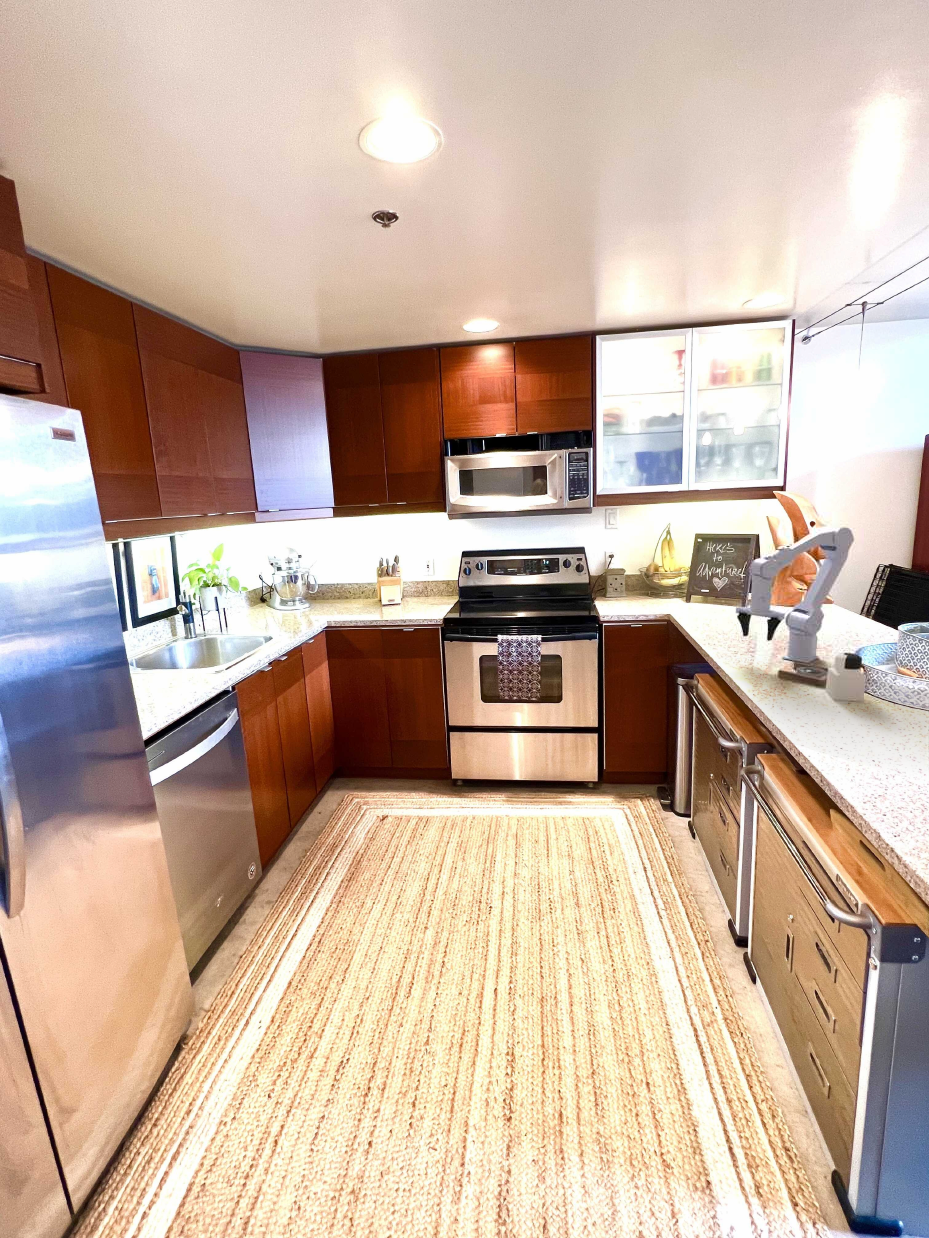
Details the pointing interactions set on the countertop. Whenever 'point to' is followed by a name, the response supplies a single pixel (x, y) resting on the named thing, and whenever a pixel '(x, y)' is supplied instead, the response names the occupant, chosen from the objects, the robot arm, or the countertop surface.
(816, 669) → the ring
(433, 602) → the countertop surface
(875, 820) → the countertop surface
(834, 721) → the countertop surface
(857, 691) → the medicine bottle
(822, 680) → the cradle
